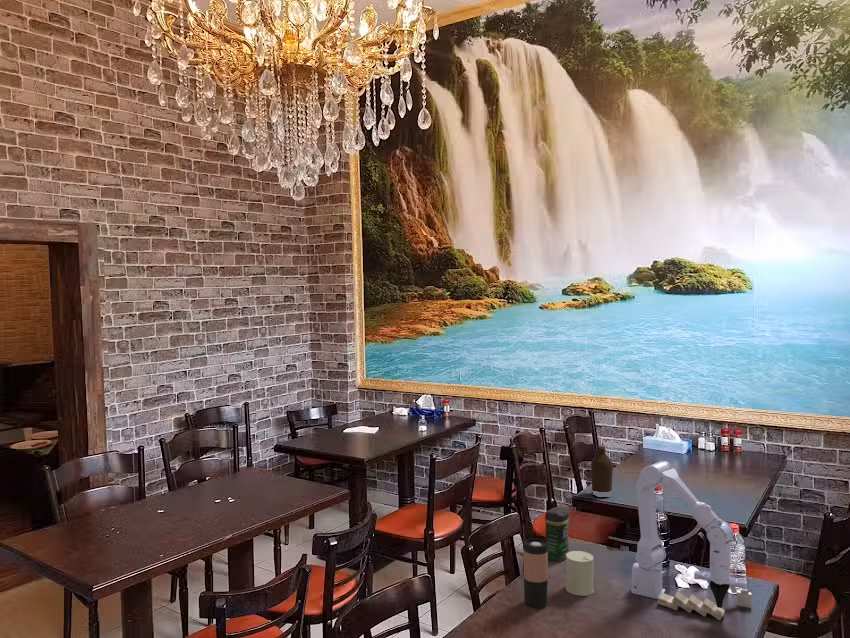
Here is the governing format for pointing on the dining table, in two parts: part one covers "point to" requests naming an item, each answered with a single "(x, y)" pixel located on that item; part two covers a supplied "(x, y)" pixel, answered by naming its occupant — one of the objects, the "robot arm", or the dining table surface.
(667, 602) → the domino
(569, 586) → the can
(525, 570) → the travel mug
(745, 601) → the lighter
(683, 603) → the domino
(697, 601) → the domino
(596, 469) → the olive oil
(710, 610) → the domino
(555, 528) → the coffee jar
